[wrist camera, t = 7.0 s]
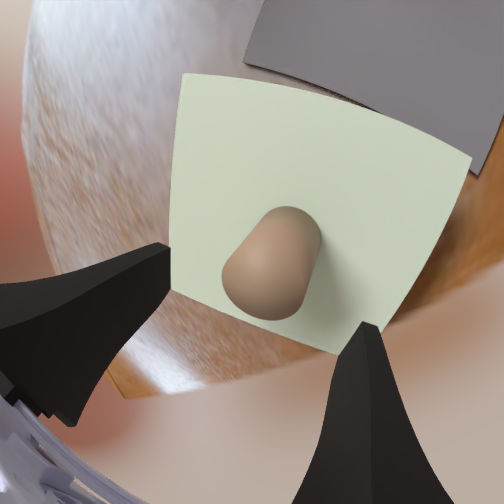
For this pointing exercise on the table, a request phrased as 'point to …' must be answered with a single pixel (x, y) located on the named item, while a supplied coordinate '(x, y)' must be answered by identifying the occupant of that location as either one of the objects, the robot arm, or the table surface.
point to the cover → (302, 207)
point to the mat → (397, 60)
